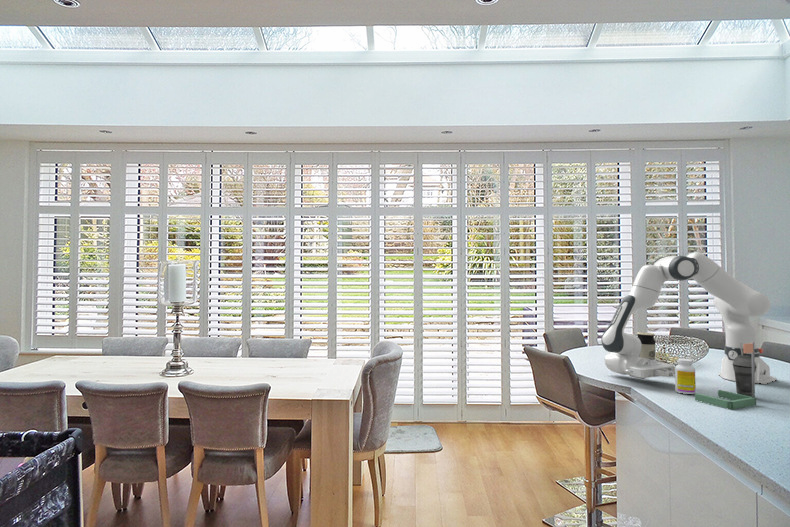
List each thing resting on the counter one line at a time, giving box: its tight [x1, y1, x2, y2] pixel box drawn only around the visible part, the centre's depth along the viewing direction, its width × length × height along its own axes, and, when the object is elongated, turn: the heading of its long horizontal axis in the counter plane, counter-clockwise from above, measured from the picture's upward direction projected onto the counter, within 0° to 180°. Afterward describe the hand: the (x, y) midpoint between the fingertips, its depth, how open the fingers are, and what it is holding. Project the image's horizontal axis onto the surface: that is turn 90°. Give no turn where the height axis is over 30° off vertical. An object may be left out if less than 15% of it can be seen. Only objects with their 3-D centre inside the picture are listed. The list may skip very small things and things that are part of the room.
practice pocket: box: [694, 342, 757, 410], centre depth 165 cm, size 14×12×22 cm
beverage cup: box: [733, 343, 756, 397], centre depth 174 cm, size 7×7×20 cm
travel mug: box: [636, 331, 656, 360], centre depth 218 cm, size 8×8×18 cm
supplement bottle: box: [674, 358, 696, 395], centre depth 178 cm, size 7×7×13 cm
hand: (670, 374), depth 184 cm, fingers closed
